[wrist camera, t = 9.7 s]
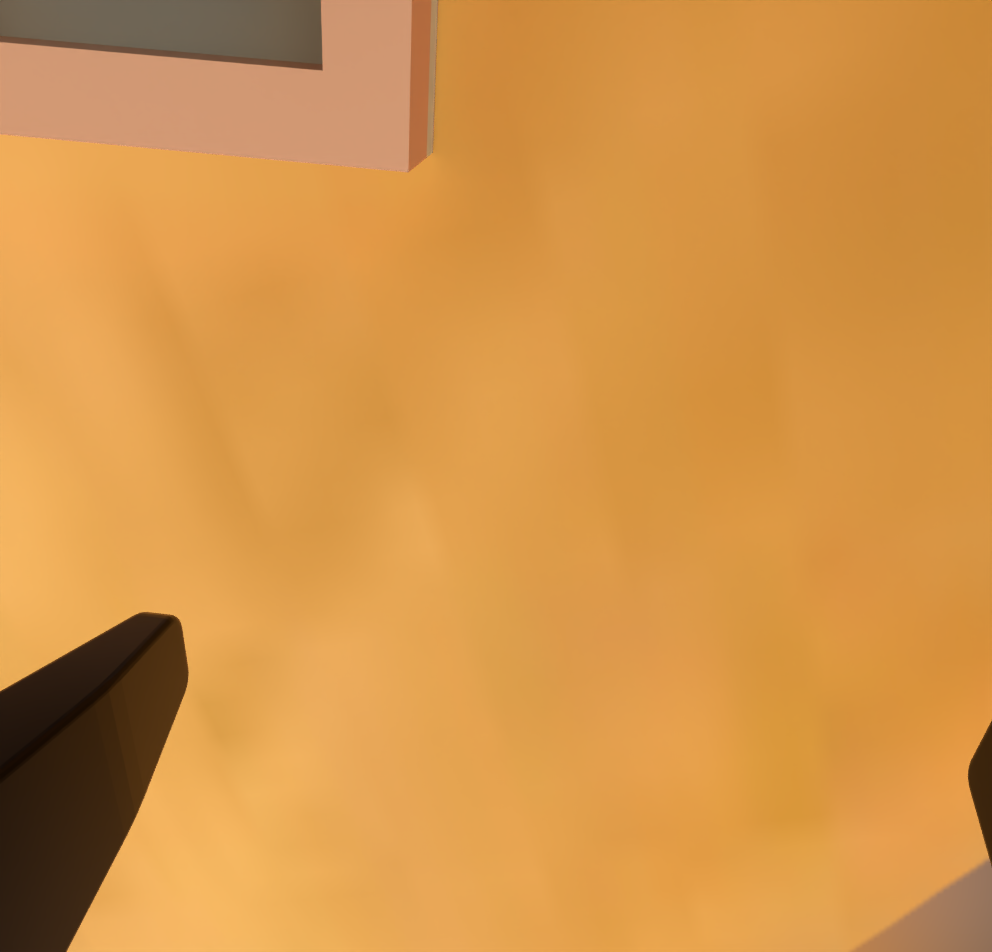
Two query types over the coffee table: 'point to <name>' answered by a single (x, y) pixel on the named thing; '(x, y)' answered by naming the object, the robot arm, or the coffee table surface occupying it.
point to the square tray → (226, 77)
